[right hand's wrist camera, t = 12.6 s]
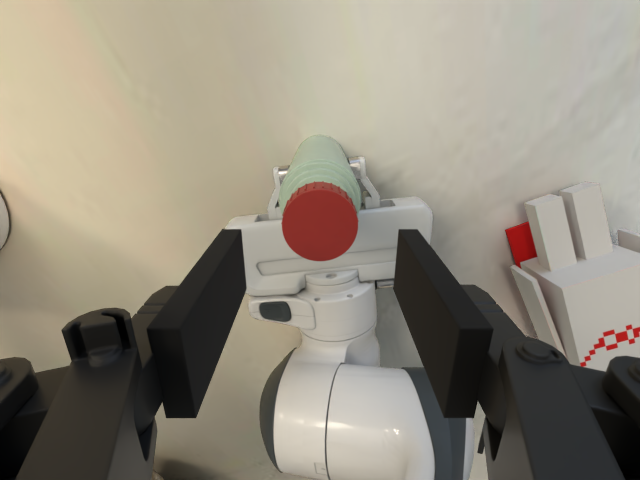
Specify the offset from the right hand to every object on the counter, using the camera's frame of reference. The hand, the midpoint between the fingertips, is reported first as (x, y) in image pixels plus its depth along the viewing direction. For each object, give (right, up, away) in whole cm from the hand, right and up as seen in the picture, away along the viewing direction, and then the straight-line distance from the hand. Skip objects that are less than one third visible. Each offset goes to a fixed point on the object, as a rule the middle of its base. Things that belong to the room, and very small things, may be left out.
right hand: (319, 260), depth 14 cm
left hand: (0, +8, +18) cm, 19 cm away
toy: (+30, -6, +30) cm, 43 cm away
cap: (0, +2, +4) cm, 4 cm away
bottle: (0, +10, +24) cm, 26 cm away
